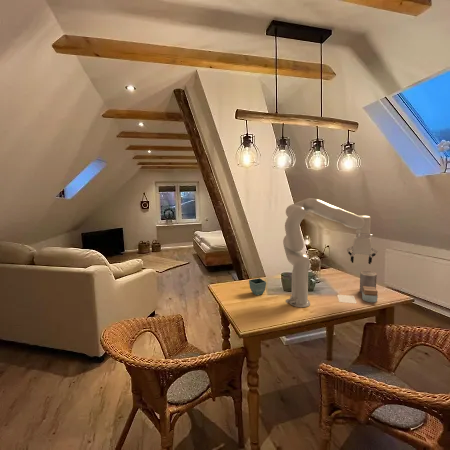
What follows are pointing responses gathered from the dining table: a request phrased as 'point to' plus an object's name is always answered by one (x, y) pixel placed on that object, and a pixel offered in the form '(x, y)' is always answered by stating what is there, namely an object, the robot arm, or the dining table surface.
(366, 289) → the board
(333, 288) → the dining table surface
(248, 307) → the dining table surface
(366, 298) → the bowl
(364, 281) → the pillar candle
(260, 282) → the flower pot
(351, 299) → the mat
